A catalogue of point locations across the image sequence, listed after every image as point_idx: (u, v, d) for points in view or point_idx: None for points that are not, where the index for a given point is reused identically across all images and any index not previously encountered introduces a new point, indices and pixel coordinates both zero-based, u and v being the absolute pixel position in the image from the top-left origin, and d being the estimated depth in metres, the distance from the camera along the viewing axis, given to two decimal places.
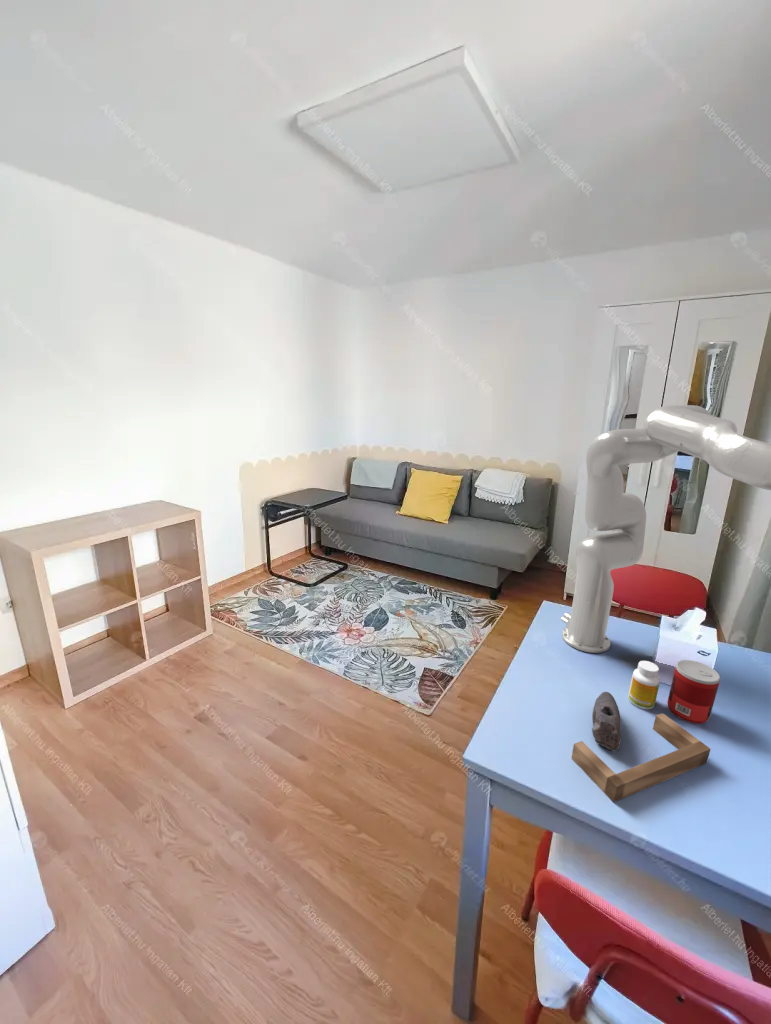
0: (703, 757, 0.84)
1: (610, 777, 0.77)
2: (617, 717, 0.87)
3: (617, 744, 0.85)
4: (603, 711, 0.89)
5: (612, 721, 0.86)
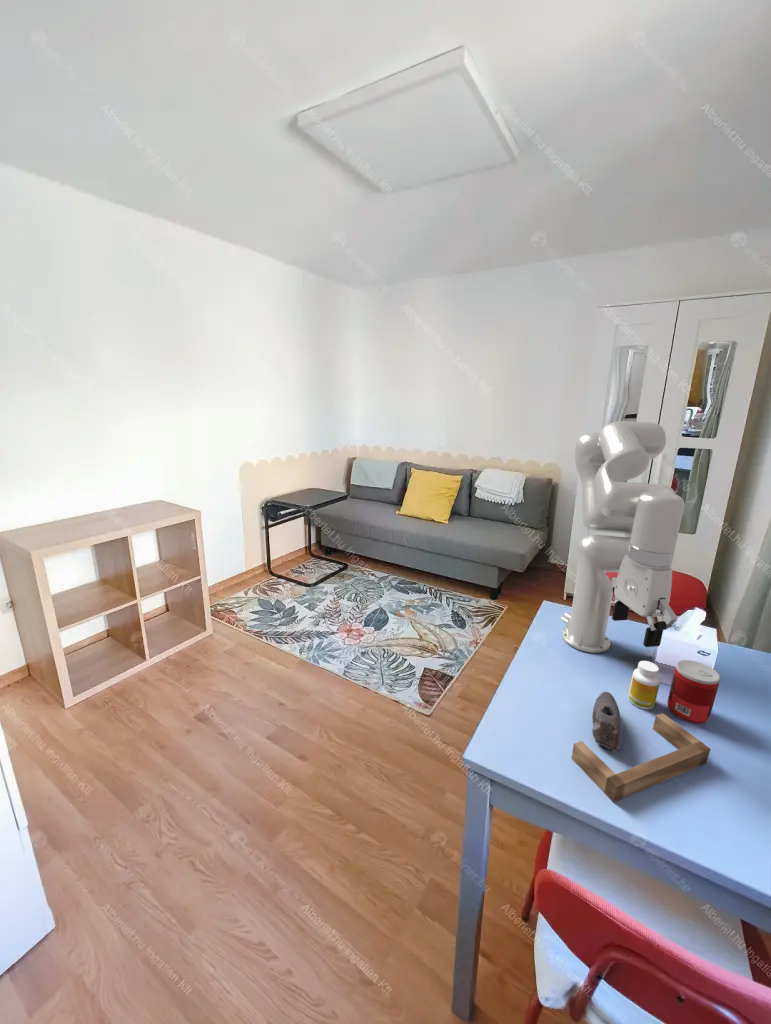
0: (703, 757, 0.84)
1: (610, 777, 0.77)
2: (617, 717, 0.87)
3: (617, 744, 0.85)
4: (603, 711, 0.89)
5: (612, 721, 0.86)
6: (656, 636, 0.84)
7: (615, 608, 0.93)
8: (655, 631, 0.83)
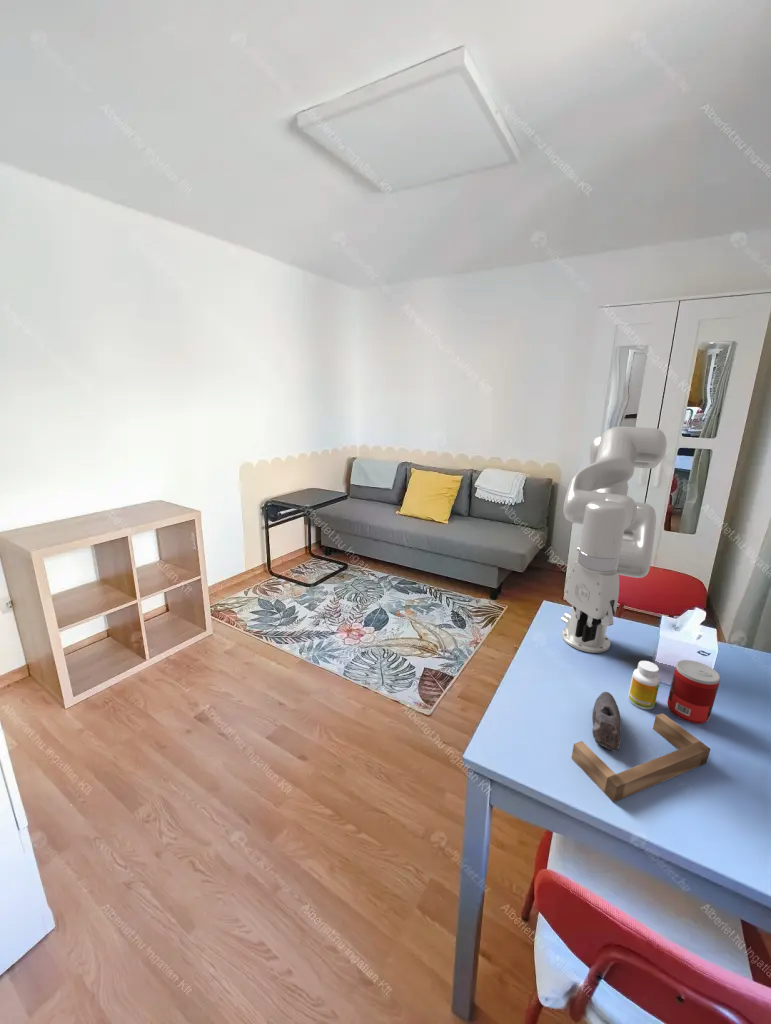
0: (703, 757, 0.84)
1: (610, 777, 0.77)
2: (617, 717, 0.87)
3: (617, 744, 0.85)
4: (603, 711, 0.89)
5: (612, 721, 0.86)
6: (592, 631, 0.93)
7: (578, 625, 0.95)
8: (591, 627, 0.92)
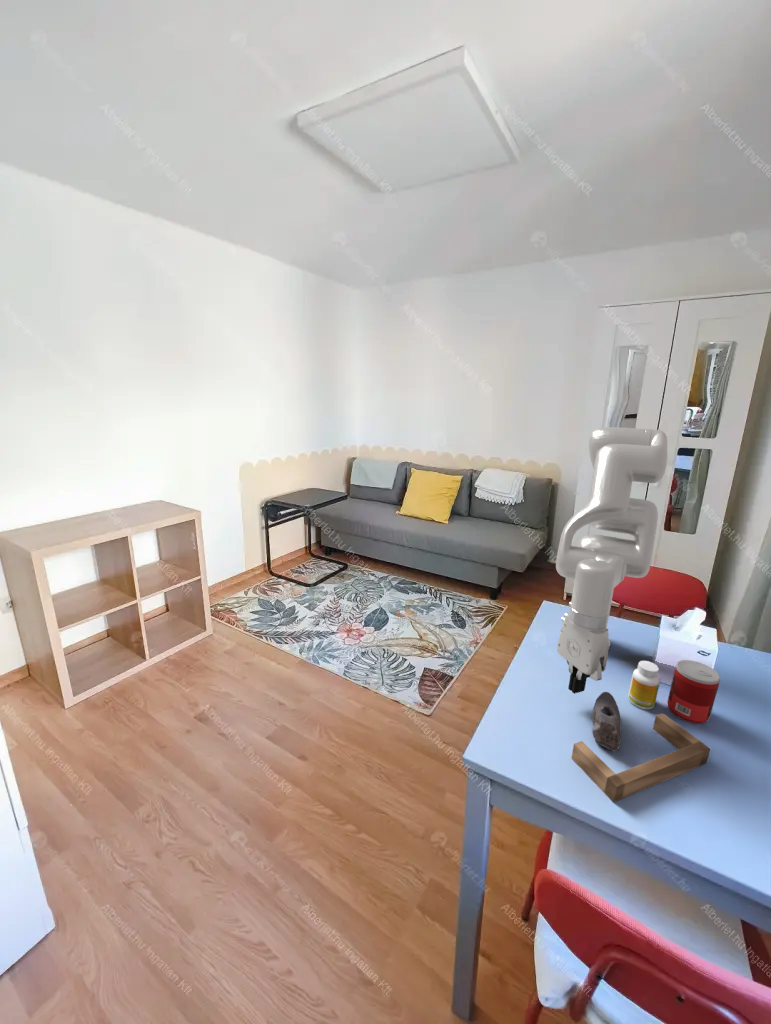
0: (703, 757, 0.84)
1: (610, 777, 0.77)
2: (617, 717, 0.87)
3: (617, 744, 0.85)
4: (603, 711, 0.89)
5: (612, 721, 0.86)
6: (582, 684, 0.96)
7: (571, 679, 0.97)
8: (581, 680, 0.96)
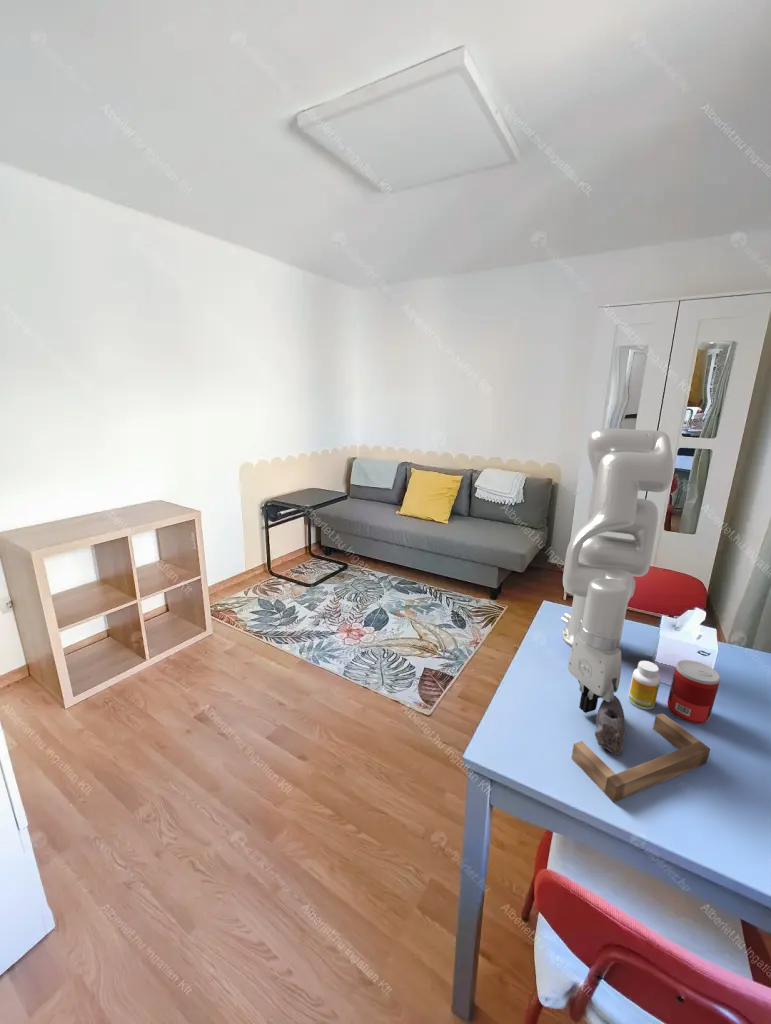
0: (703, 757, 0.84)
1: (610, 777, 0.77)
2: (621, 720, 0.86)
3: (619, 747, 0.84)
4: (607, 714, 0.88)
5: (615, 724, 0.85)
6: (593, 703, 0.94)
7: (582, 698, 0.95)
8: (592, 699, 0.94)
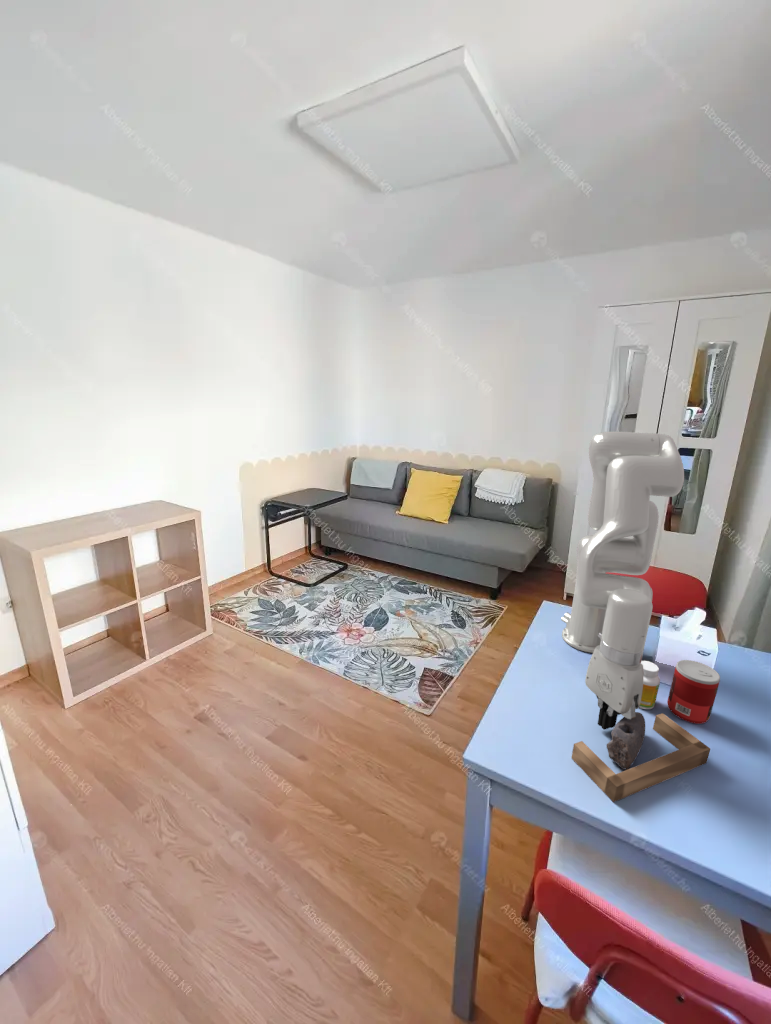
0: (703, 757, 0.84)
1: (610, 777, 0.77)
2: (635, 736, 0.82)
3: (627, 763, 0.80)
4: (622, 728, 0.85)
5: (625, 738, 0.81)
6: (613, 720, 0.90)
7: (601, 714, 0.91)
8: (612, 716, 0.89)
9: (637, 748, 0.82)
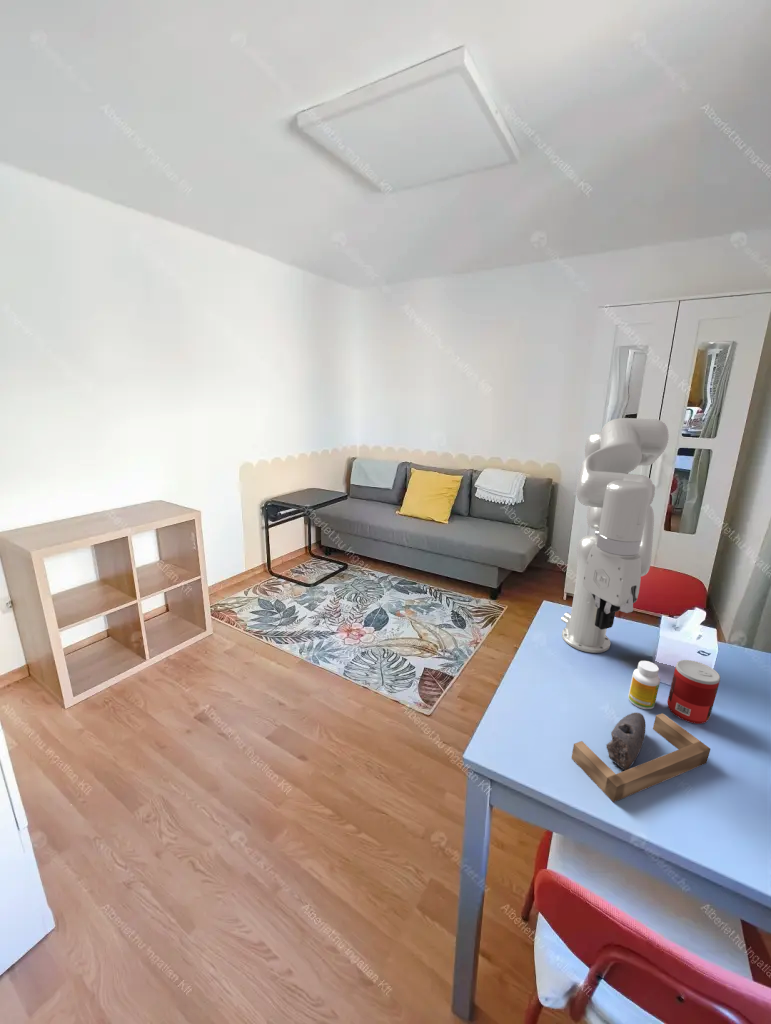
0: (703, 757, 0.84)
1: (610, 777, 0.77)
2: (635, 737, 0.82)
3: (627, 763, 0.81)
4: (622, 728, 0.85)
5: (625, 739, 0.81)
6: (610, 618, 0.89)
7: (598, 614, 0.90)
8: (609, 614, 0.88)
9: (637, 748, 0.82)
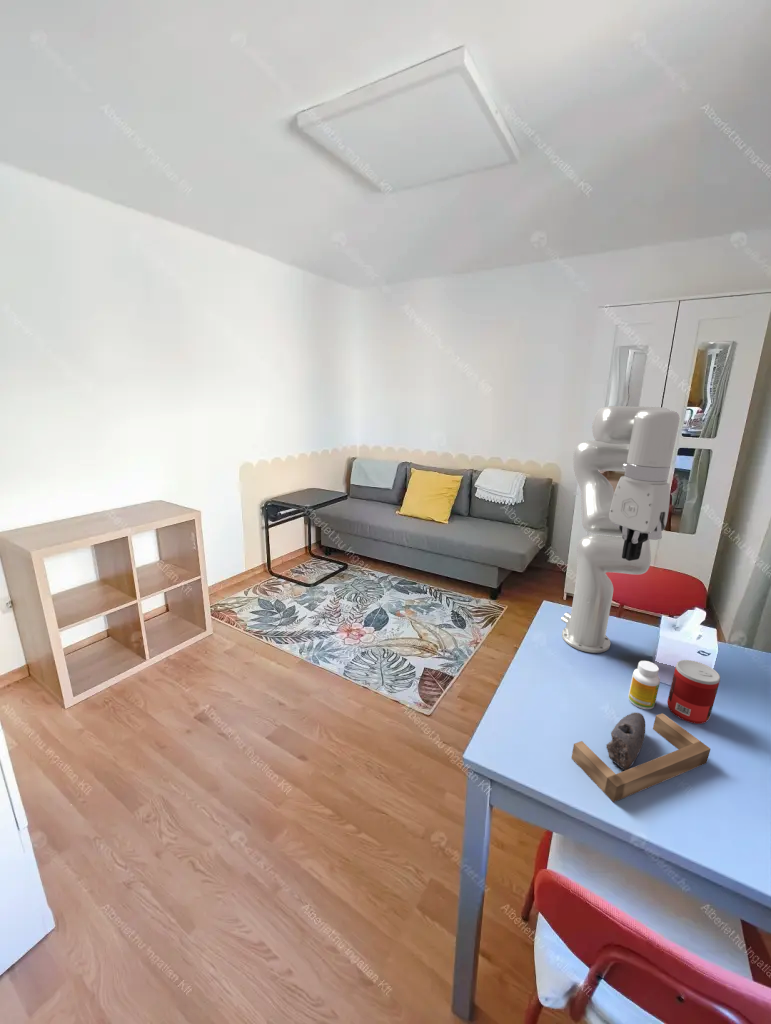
0: (703, 757, 0.84)
1: (610, 777, 0.77)
2: (635, 737, 0.82)
3: (627, 763, 0.81)
4: (622, 728, 0.85)
5: (625, 739, 0.82)
6: (637, 549, 0.90)
7: (625, 545, 0.91)
8: (637, 544, 0.90)
9: (637, 748, 0.82)
